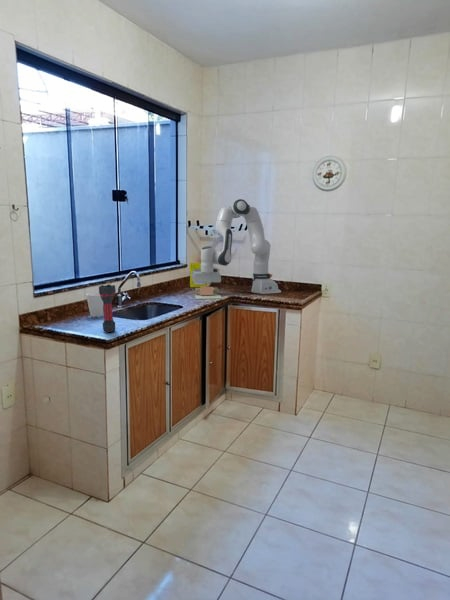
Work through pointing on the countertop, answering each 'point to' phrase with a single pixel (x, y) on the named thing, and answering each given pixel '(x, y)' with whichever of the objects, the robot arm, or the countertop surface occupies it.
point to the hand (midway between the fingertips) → (207, 288)
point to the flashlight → (107, 306)
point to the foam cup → (95, 304)
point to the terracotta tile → (206, 291)
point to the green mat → (208, 297)
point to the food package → (192, 267)
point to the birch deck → (215, 291)
